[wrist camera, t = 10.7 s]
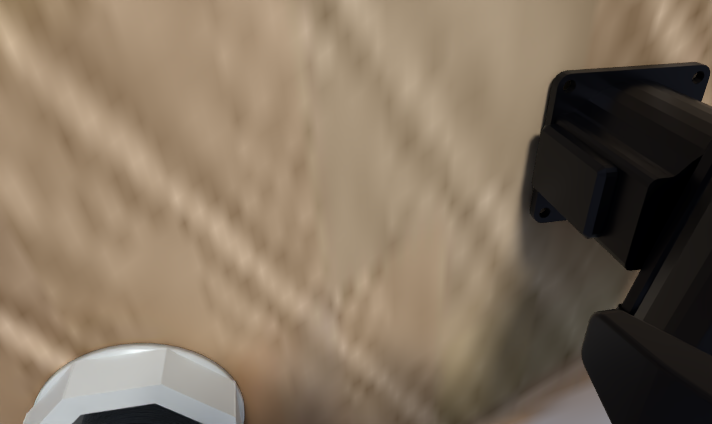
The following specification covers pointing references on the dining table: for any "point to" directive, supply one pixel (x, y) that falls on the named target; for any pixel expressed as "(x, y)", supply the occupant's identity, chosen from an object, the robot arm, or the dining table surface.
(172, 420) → the canister
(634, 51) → the dining table surface
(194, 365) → the collar
